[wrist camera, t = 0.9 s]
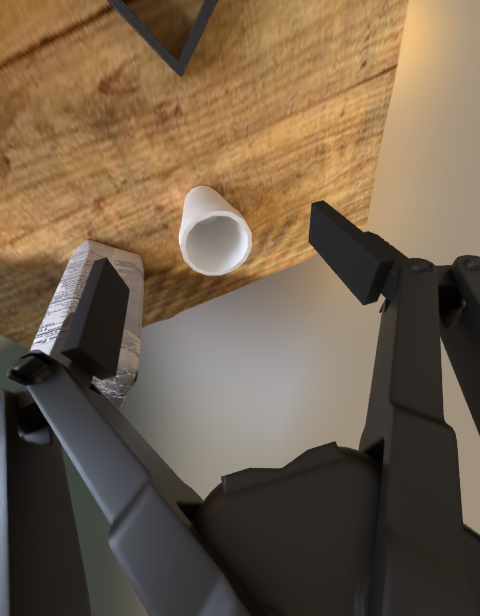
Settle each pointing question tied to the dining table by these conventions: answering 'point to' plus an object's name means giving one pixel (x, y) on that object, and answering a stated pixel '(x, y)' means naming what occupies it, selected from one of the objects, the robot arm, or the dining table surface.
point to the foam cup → (213, 233)
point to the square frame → (156, 45)
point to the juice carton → (68, 300)
